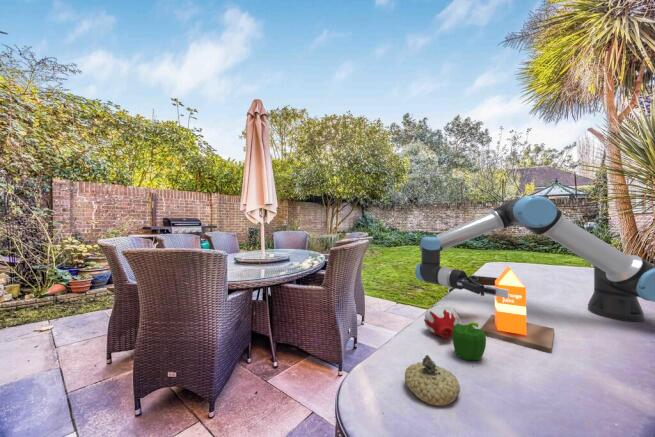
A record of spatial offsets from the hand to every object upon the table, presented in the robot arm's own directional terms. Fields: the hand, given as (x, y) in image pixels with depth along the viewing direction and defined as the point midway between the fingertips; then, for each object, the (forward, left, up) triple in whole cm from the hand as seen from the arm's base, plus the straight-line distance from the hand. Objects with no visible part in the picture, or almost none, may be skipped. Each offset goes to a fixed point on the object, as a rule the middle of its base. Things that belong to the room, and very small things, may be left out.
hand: (515, 290), depth 87 cm
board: (0, 0, -14) cm, 14 cm away
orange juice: (+1, +2, -13) cm, 13 cm away
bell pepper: (+8, +27, -15) cm, 31 cm away
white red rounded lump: (+18, +18, -15) cm, 29 cm away
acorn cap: (+10, +48, -15) cm, 51 cm away
